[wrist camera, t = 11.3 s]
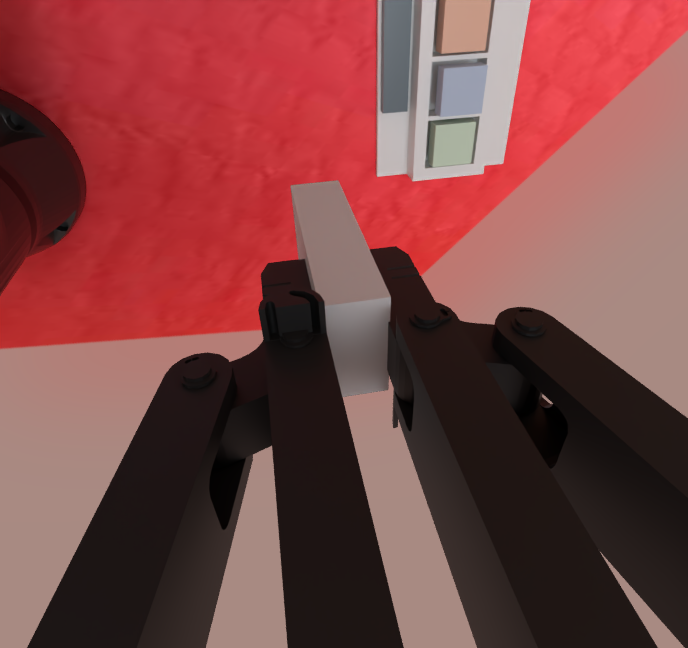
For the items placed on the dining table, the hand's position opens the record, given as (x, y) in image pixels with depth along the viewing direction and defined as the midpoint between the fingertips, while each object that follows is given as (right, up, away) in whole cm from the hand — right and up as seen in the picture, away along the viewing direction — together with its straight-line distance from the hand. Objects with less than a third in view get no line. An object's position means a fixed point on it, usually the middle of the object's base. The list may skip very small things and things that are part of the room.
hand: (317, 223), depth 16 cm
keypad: (+11, +22, +29) cm, 38 cm away
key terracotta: (+11, +24, +27) cm, 38 cm away
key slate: (+11, +19, +29) cm, 37 cm away
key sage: (+11, +16, +33) cm, 39 cm away
